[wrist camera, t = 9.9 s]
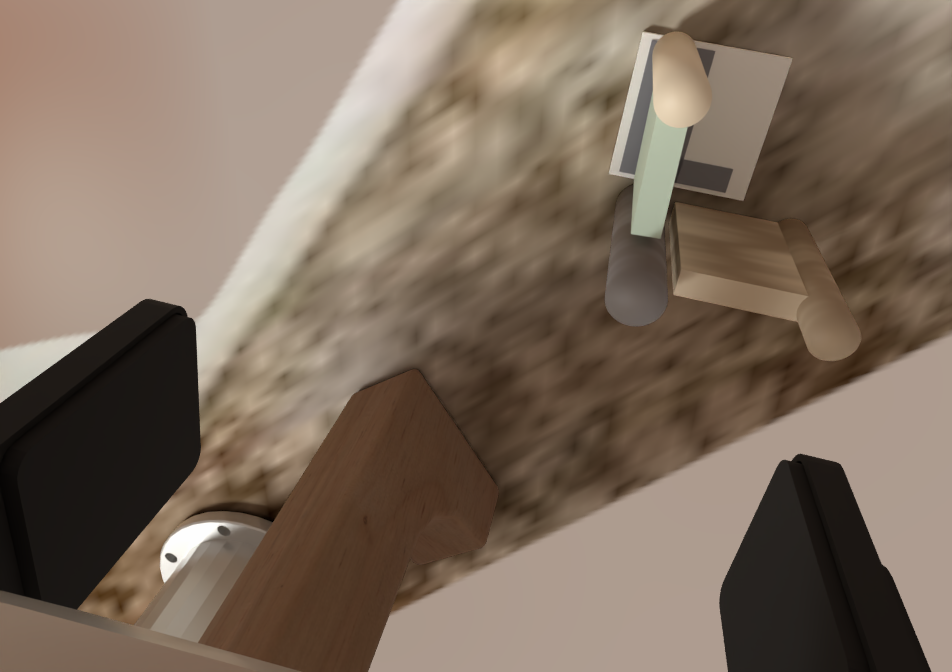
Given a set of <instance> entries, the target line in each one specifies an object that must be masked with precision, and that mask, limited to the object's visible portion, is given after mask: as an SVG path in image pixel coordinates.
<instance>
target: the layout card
mask: <svg viewBox="0 0 952 672" xmlns="http://www.w3.org/2000/svg"><path fill="white" fill-rule="evenodd" d="M662 36H664V35H662V34H656V33H651V32H645V31H643V33H642V37H641V41H640V46H639V50H638V54H637V58H636V62H635V66H634V70H633V75H632V79H631V83H630V87H629V91H628V95H627V99H626V104H625V108H624V112H623V116H622V120H621V124H620V128H619V132H618V137H617V141H616V145H615V149H614V153H613V157H612V161H611V166H610V170H609V174H612V175H617V176H622V177H627V178H632V179H634V176H635V172H636V167H637V162H638V158H639V153H640V148H641V144H642V139H643V134H644V129H645V125H646V120H647V115H648V111H649V106H650V101H651V97H652V92H653V64H652V54H653V49H654V47H655V45H656V43H657V41H658V40H659V39H660V38H661V37H662ZM693 41H694V43H695V45H696V48H697V51H698V53H699V56H700V59H701V62H702V64H703V67H704V70H705V73H706V75H707V78H708V81H709V84H710V86H711V90H712V102H711V106H710V108H709V110H708V112H707V114H706V115H705V116H704V117H703V118H702V119H701V120H700V121H699V122H698V123H696V124H694V125H692V126H689V127H688V128H687V132H686V136H685V140H684V144H683V148H682V152H681V157H680V161H679V165H678V169H677V173H676V177H675V181H674V185H673V187H676V188H681V189H686V190H691V191H696V192H701V193H706V194H711V195H716V196H721V197H726V198H731V199H736V200H741V201H744V198H745V195H746V192H747V189H748V186H749V183H750V180H751V178H752V175H753V172H754V169H755V166H756V163H757V160H758V157H759V155H760V152H761V149H762V146H763V143H764V140H765V137H766V134H767V132H768V129H769V126H770V123H771V120H772V117H773V114H774V112H775V109H776V106H777V103H778V100H779V97H780V94H781V91H782V89H783V86H784V83H785V80H786V77H787V74H788V71H789V68H790V66H791V63H792V60H793V59H792V58H790V57H785V56H779V55H774V54H768V53H762V52H757V51H751V50H746V49H740V48H735V47H729V46H723V45H718V44H712V43H707V42H701V41H696V40H693Z"/></svg>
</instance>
